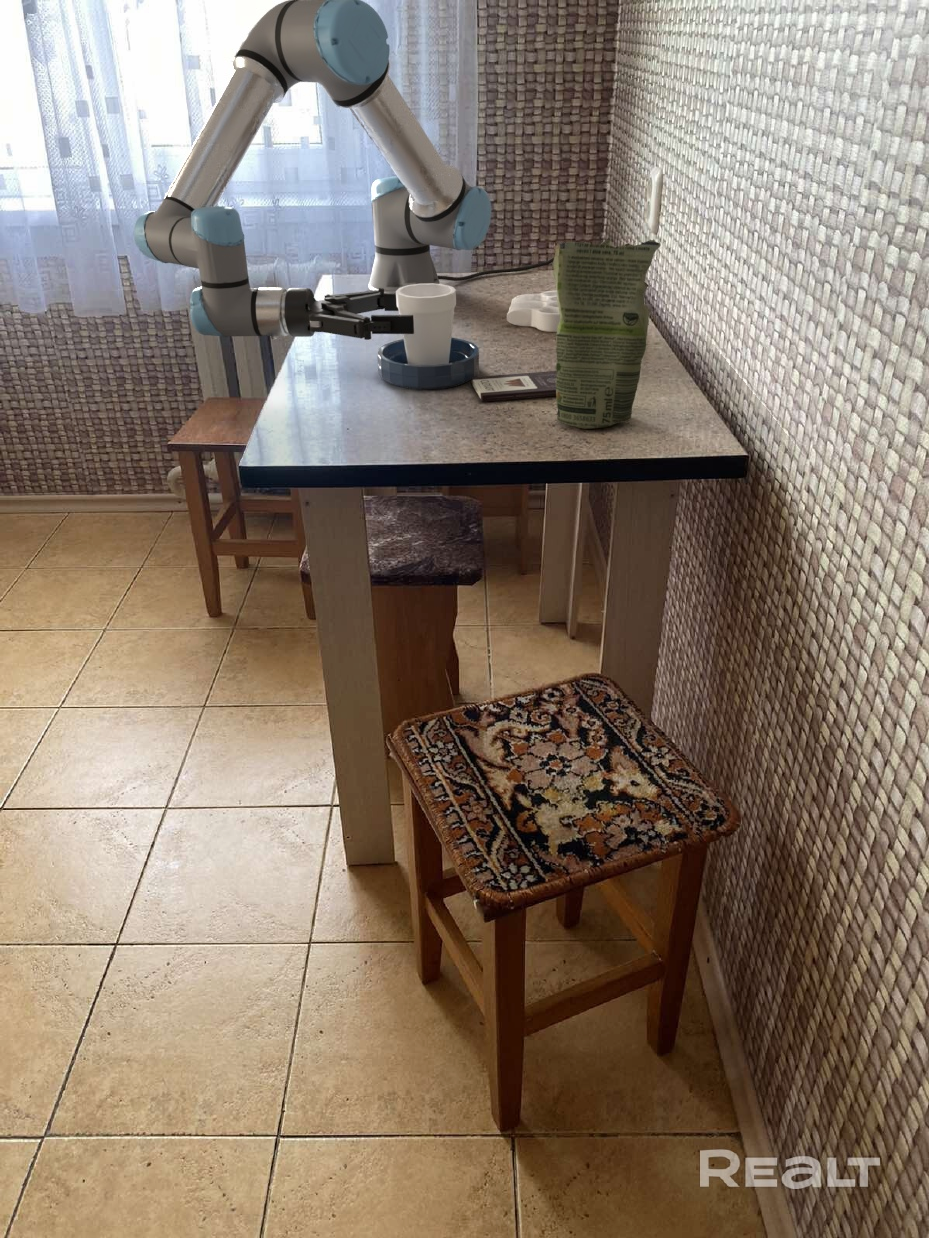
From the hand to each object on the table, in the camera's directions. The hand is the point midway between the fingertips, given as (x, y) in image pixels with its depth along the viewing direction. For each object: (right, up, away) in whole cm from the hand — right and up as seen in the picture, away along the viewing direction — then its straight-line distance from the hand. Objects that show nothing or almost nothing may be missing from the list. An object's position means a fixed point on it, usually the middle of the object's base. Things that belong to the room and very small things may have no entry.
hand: (418, 313), depth 151 cm
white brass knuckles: (+23, +9, +33) cm, 41 cm away
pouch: (+27, -20, -13) cm, 36 cm away
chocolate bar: (+18, -13, -1) cm, 22 cm away
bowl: (+2, -9, +5) cm, 10 cm away
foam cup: (+1, -8, +5) cm, 10 cm away
